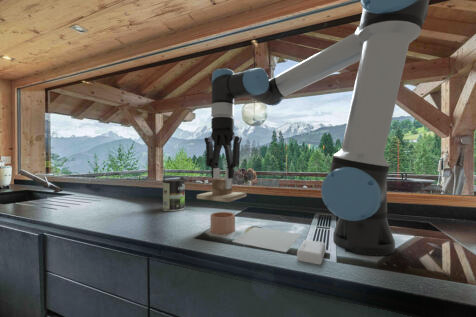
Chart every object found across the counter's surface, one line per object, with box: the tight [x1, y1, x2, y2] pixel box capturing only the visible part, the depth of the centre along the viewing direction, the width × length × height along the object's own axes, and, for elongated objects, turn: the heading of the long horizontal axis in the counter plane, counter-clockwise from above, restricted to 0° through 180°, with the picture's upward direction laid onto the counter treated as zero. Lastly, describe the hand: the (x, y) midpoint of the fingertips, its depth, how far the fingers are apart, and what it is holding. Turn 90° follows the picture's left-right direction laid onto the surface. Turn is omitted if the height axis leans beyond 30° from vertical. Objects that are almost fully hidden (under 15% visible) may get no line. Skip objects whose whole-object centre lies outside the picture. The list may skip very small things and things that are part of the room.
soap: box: [296, 239, 326, 265], centre depth 57 cm, size 9×6×3 cm, turn 153°
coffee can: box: [162, 178, 186, 212], centre depth 112 cm, size 10×10×14 cm
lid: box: [196, 177, 247, 203], centre depth 78 cm, size 12×12×6 cm
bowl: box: [210, 211, 236, 235], centre depth 78 cm, size 8×8×6 cm
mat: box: [231, 226, 302, 253], centre depth 70 cm, size 16×16×1 cm
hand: (222, 187), depth 78 cm, fingers closed on lid, 4 cm apart
